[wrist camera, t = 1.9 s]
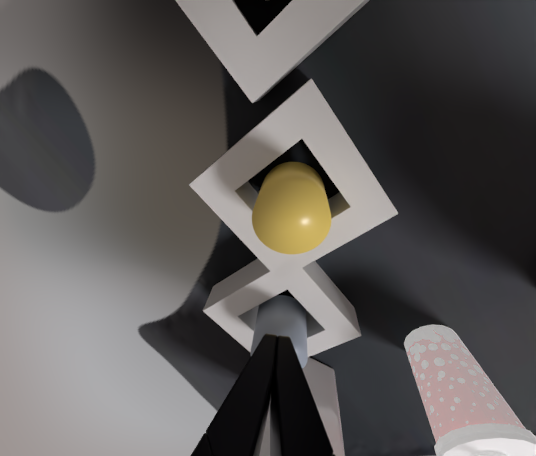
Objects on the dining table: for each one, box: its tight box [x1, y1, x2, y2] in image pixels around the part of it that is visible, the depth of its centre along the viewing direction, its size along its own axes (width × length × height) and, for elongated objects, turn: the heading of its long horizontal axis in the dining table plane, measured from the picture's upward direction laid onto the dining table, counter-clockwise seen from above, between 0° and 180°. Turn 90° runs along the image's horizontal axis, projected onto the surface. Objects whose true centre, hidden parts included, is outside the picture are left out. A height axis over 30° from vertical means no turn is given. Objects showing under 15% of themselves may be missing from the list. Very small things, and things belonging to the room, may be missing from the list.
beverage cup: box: [404, 325, 536, 456], centre depth 18 cm, size 6×6×14 cm
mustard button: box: [252, 162, 331, 254], centre depth 15 cm, size 4×4×4 cm
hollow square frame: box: [189, 79, 398, 276], centre depth 17 cm, size 9×9×3 cm
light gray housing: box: [203, 258, 361, 357], centre depth 22 cm, size 9×9×3 cm
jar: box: [259, 357, 345, 456], centre depth 24 cm, size 9×8×12 cm
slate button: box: [250, 295, 308, 369], centre depth 20 cm, size 4×4×4 cm
